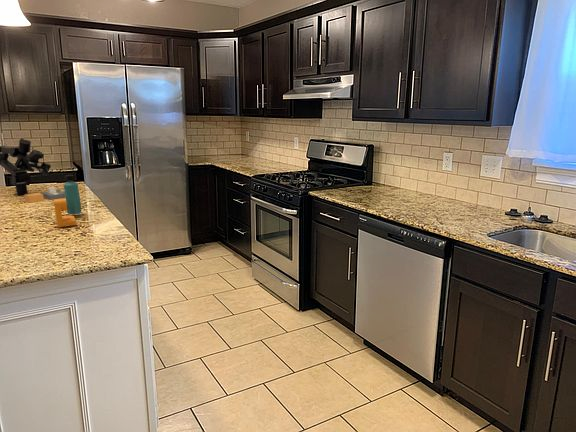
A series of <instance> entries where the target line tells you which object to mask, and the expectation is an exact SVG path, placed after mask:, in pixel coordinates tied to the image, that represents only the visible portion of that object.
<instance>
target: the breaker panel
mask: <svg viewBox="0 0 576 432" xmlns="http://www.w3.org/2000/svg"><path fill="white" fill-rule="evenodd" d="M39 193H40V194H43V197H44V199H46V200H50V201H51V200H53V201H54V200H55V199H65V191H64V189H62V188H58V189H56V193H53V194H49V193H48V191H41V192H39Z"/></svg>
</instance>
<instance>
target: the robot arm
mask: <svg viewBox="0 0 576 432" xmlns="http://www.w3.org/2000/svg"><path fill="white" fill-rule="evenodd" d="M31 145H32V142H31V141H30V140H28V139H24V138H20V139H19V140H18V146H7V145H0V166H1V167H2V168H4V170H6V171H7V172H8V173H9V174H10V175H11V176H12V177H11V179H10V184H11V186H14V187H15V190H16V193H14V195H16V196H18V197H20V196H25V195H26V194H31V193H30V192H29V191H28V186H27V185H30V184H31V175H30V174H29V172H31V173H34V172H35V170H37V171H38V172H39V174H41V175H46V176H49V175H50V172H49V171H50V169H51V166H52V165H51V164H50V163H48V162H47V163H46V162H41V165H38V164H39V163H40V159H43V158H44V157H45V155H44V153H43V152H42V151H40V150H36V149H32V150H31ZM9 156H10V157H12V158H16V161H15V162H14V164H13V163H12V162H11V161H9V160H8V159H9Z"/></svg>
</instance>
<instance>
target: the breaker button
mask: <svg viewBox="0 0 576 432" xmlns="http://www.w3.org/2000/svg"><path fill="white" fill-rule="evenodd" d="M46 189H47V191H48V193H49V194H53V193H56V190H57V188H56V187H54V186H52V187H46ZM47 191H46V192H47Z"/></svg>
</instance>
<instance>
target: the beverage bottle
mask: <svg viewBox="0 0 576 432" xmlns="http://www.w3.org/2000/svg"><path fill="white" fill-rule="evenodd" d="M64 180H65V181H66V182H65V183H64V184H63V190H64V191H65V198H66V203H67V211H66V212H67V214H68V215H78V214H81V213H82V204H81V198H80V197H81V196H80V190H79V183H78V182H76V181H75V180H76V177H75V175H73V174H66V175H65V176H64ZM65 198H64V199H65Z"/></svg>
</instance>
